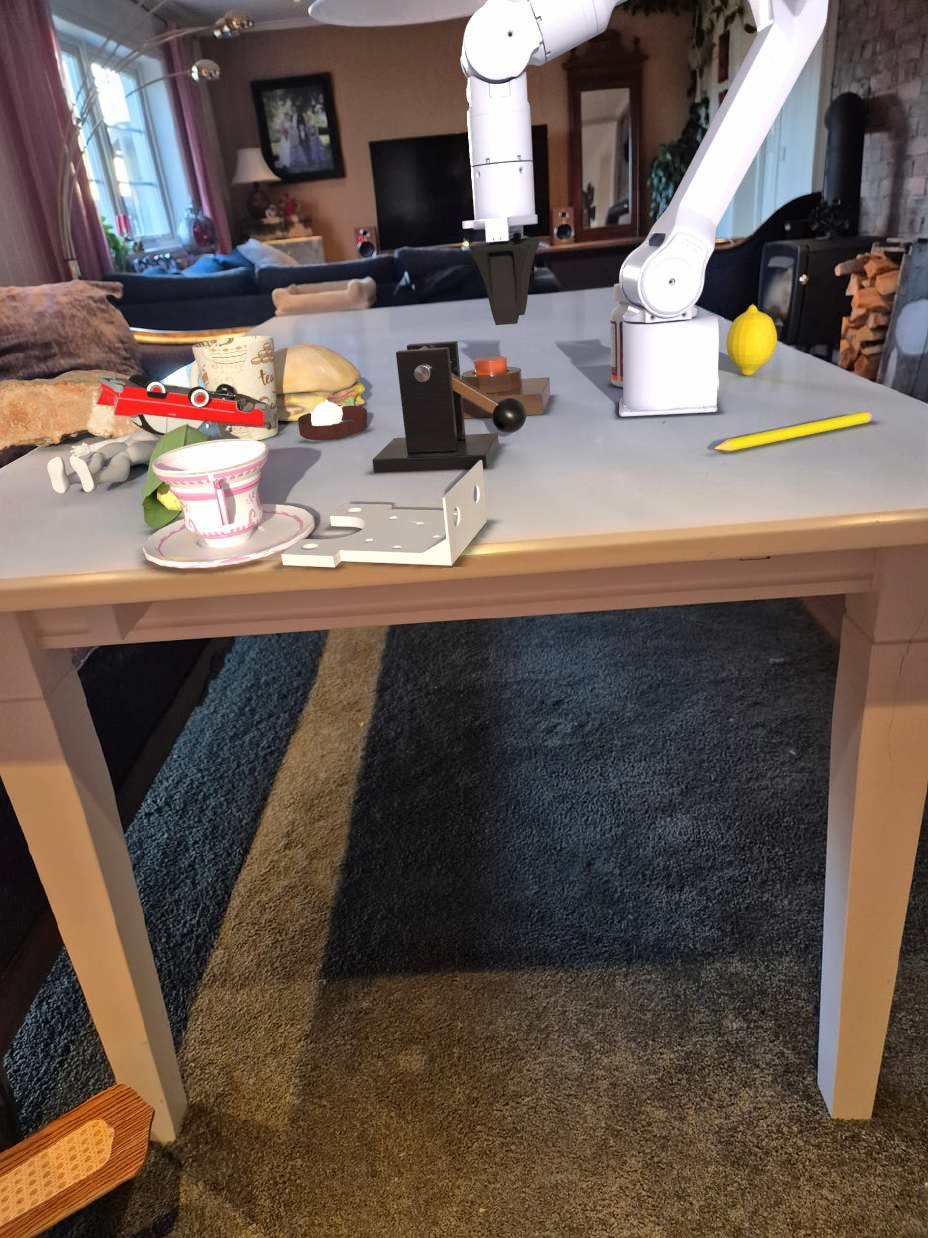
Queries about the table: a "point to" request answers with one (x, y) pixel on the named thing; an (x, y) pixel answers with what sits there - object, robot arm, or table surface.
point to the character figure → (105, 460)
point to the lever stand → (433, 416)
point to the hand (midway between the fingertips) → (510, 319)
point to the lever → (493, 405)
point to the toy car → (176, 404)
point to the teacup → (221, 508)
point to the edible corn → (156, 492)
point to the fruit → (751, 340)
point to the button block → (507, 391)
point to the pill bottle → (617, 336)
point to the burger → (313, 380)
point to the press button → (490, 365)
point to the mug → (240, 378)
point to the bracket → (401, 531)
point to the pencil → (794, 431)
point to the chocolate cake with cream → (332, 421)
